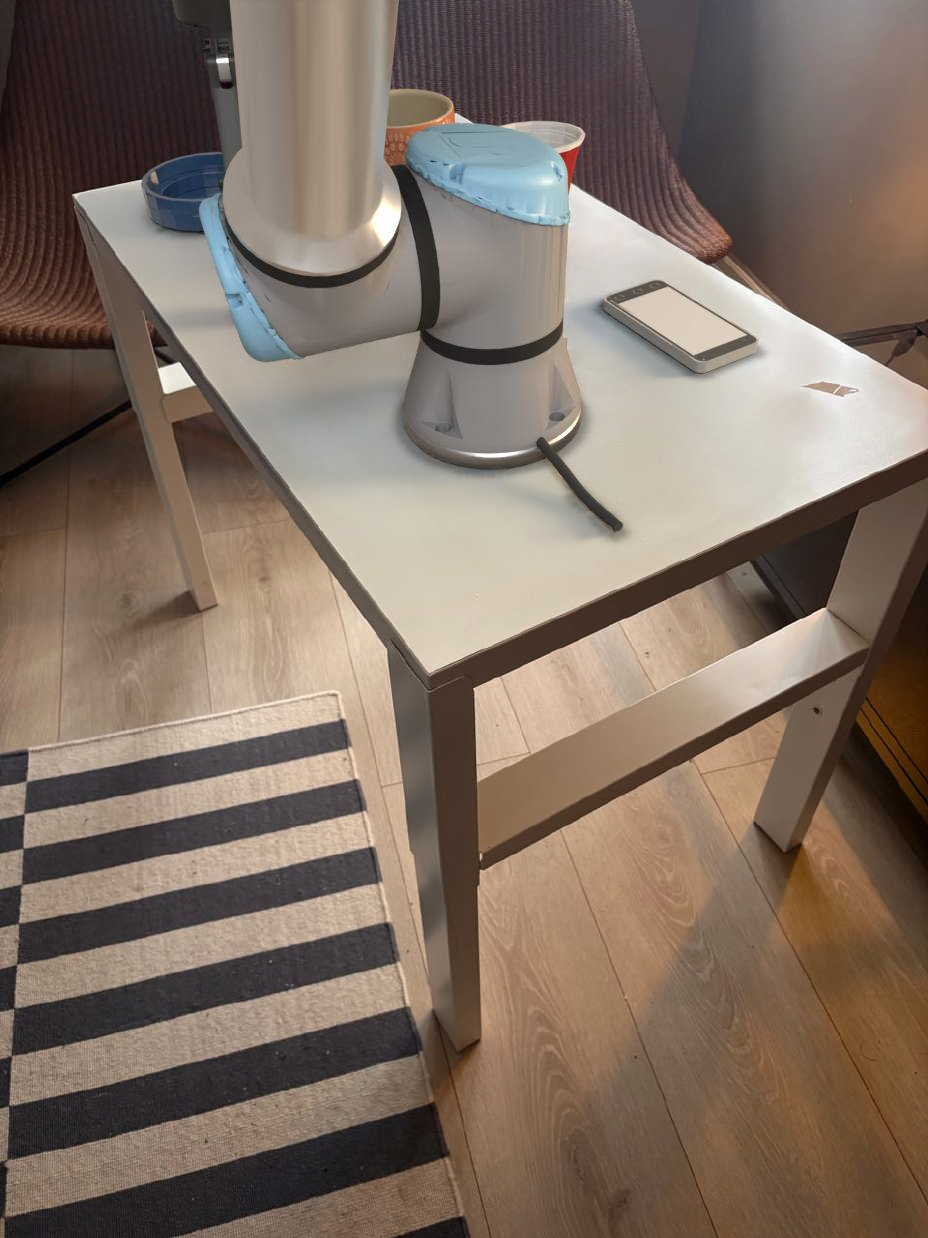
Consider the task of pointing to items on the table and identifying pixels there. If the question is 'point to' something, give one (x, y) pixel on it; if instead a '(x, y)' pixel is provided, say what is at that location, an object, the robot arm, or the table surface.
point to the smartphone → (680, 325)
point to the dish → (182, 189)
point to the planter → (412, 119)
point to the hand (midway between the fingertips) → (259, 225)
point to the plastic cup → (555, 139)
